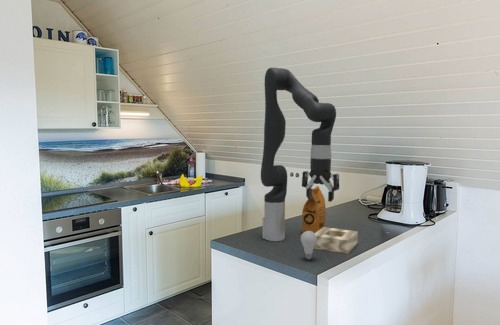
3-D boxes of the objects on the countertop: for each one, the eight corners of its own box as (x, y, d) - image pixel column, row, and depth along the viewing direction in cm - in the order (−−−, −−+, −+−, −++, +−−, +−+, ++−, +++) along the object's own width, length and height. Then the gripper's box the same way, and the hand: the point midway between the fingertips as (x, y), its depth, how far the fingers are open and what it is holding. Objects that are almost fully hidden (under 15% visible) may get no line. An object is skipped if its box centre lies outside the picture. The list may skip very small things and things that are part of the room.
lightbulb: (298, 261, 137) (299, 232, 136) (302, 255, 143) (302, 228, 142) (314, 263, 135) (315, 234, 134) (318, 257, 141) (318, 229, 140)
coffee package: (298, 234, 173) (298, 188, 171) (309, 228, 183) (310, 184, 181) (318, 237, 168) (318, 189, 166) (328, 231, 178) (329, 186, 176)
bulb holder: (311, 248, 152) (312, 235, 152) (323, 238, 165) (323, 226, 165) (347, 254, 145) (348, 240, 144) (357, 244, 158) (357, 231, 157)
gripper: (298, 156, 138) (298, 199, 139) (334, 158, 129) (333, 204, 131) (308, 155, 144) (307, 196, 145) (342, 157, 135) (341, 200, 137)
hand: (319, 199), depth 138 cm, fingers open, 8 cm apart
